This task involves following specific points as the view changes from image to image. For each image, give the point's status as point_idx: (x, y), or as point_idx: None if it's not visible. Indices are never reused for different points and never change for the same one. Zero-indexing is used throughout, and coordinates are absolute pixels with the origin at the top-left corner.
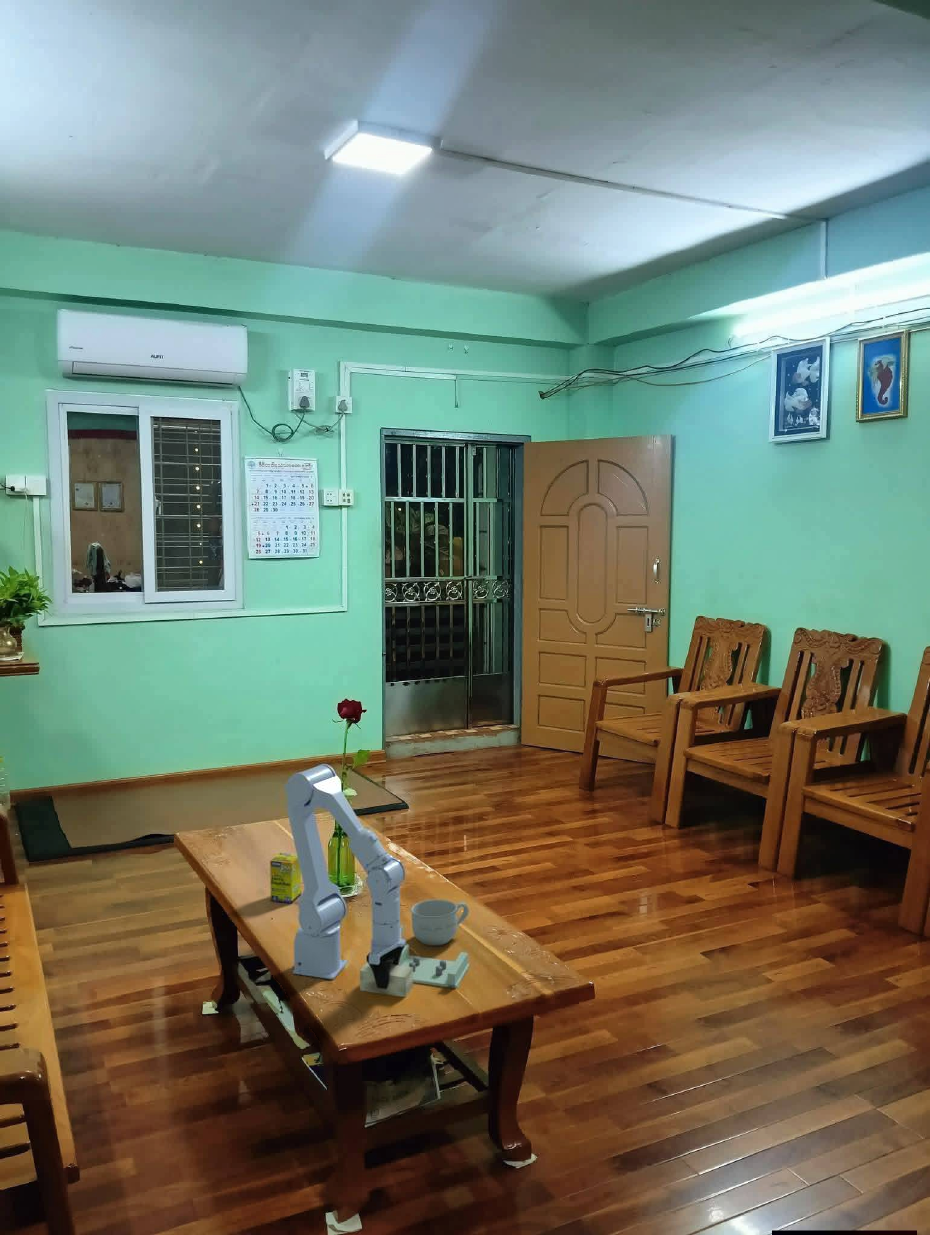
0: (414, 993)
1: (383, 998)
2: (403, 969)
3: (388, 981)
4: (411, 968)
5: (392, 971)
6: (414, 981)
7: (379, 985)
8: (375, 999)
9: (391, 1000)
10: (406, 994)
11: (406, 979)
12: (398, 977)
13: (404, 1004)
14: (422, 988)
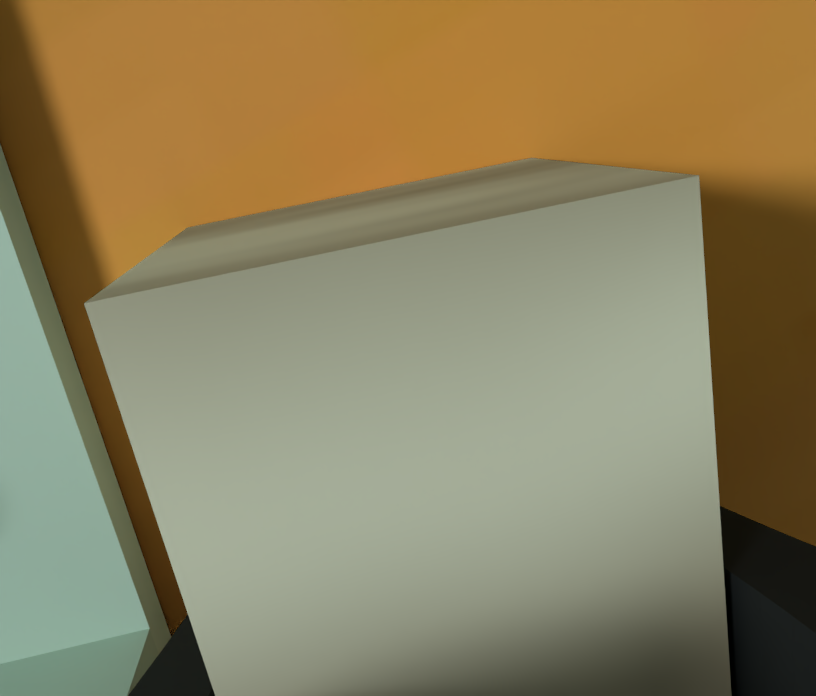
0: (367, 88)
1: None
2: (325, 467)
3: None
4: (160, 308)
5: (544, 625)
6: (44, 282)
7: None
8: (741, 497)
9: None
10: (509, 166)
11: (606, 183)
12: (692, 371)
13: (735, 60)
14: (146, 43)
